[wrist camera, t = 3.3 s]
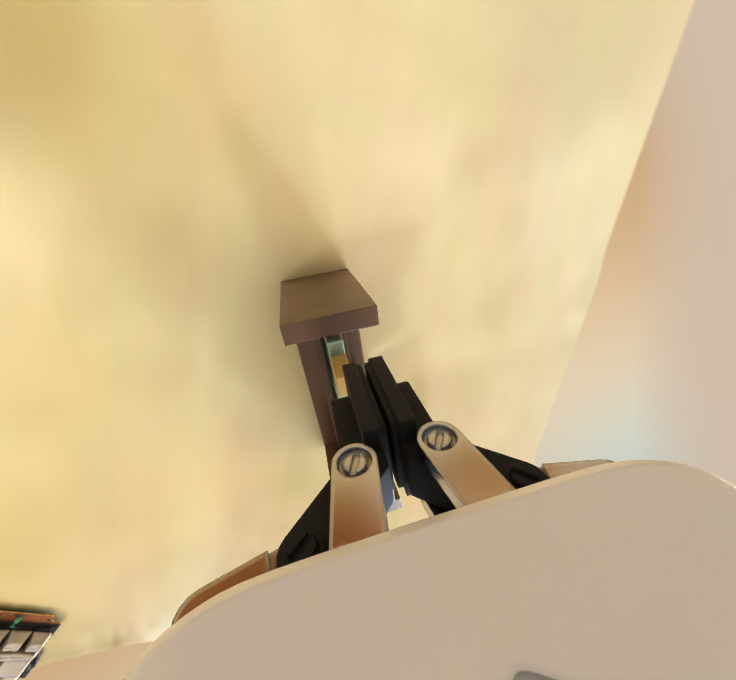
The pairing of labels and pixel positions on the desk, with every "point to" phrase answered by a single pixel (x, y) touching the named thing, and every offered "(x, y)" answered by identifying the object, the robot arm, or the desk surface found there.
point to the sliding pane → (336, 362)
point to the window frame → (321, 319)
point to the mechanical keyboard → (23, 641)
